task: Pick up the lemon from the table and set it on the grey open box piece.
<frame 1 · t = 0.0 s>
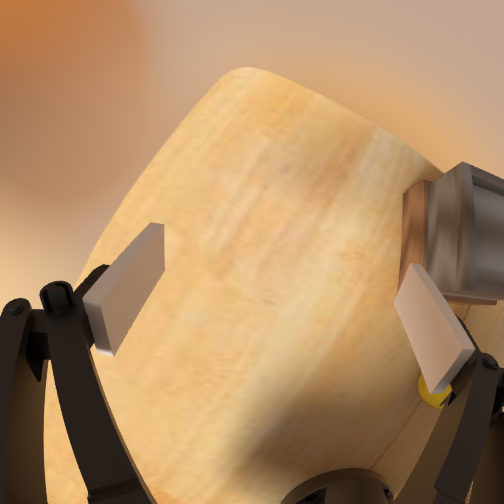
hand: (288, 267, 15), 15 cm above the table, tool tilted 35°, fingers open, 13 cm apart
lemon: (424, 375, 29), on the table
grey open box piece: (441, 251, 31), on the table
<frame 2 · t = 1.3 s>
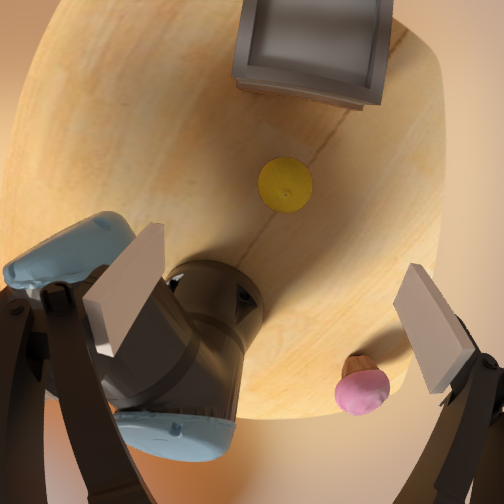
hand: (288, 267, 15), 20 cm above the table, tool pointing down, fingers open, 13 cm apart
lemon: (284, 175, 33), on the table
cupcake: (356, 360, 46), on the table
grey open box piece: (304, 48, 26), on the table
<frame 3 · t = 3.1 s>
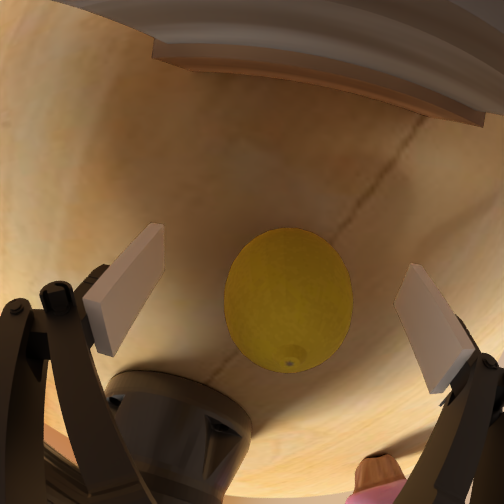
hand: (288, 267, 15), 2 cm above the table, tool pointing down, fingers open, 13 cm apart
lemon: (286, 250, 17), on the table
cupcake: (375, 457, 30), on the table
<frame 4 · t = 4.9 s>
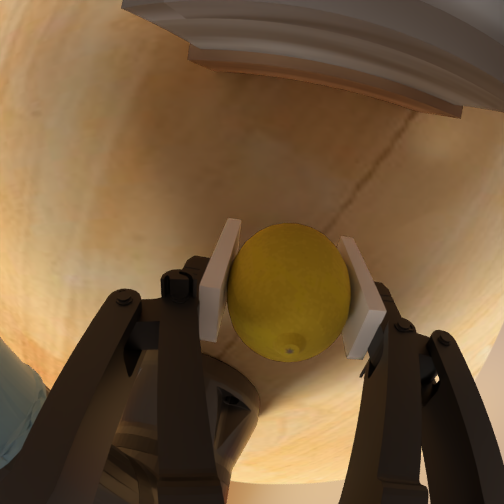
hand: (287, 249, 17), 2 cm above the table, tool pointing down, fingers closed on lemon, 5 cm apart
lemon: (287, 246, 17), point 2 cm above the table, touching gripper
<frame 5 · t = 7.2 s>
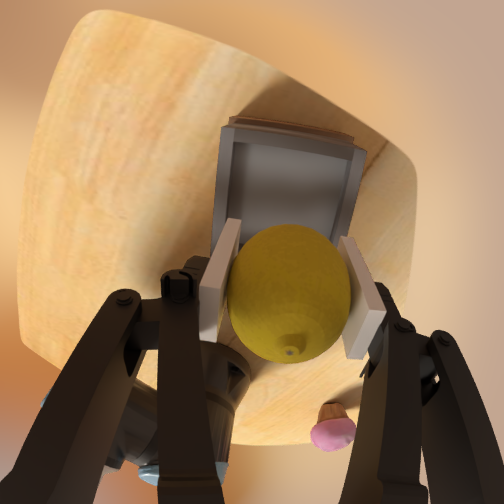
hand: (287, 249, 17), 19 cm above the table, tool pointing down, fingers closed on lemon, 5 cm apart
lemon: (287, 247, 17), point 18 cm above the table, touching gripper
cupcake: (331, 406, 53), on the table
grey open box piece: (282, 173, 33), on the table
when the fingers open (12 cm above the table, at t = 9.4 s): lemon drops 1 cm, resting on grey open box piece.
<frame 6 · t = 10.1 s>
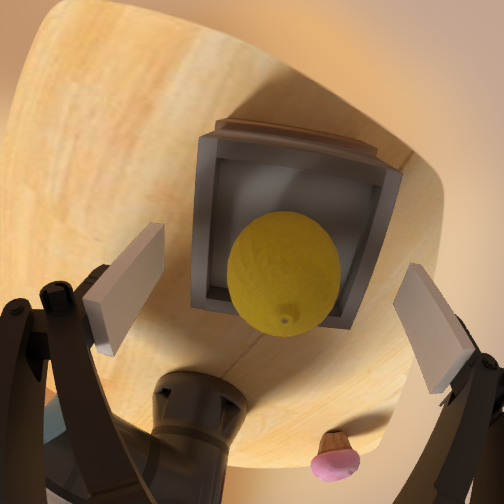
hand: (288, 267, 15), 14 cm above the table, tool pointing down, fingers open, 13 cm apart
lemon: (282, 236, 18), point 10 cm above the table, touching grey open box piece
cupcake: (333, 434, 47), on the table
grey open box piece: (284, 190, 27), on the table
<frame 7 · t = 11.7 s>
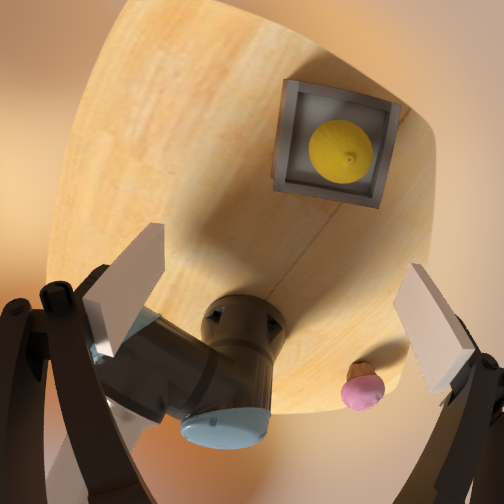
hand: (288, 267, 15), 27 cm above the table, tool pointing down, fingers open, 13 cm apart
lemon: (333, 143, 28), point 10 cm above the table, touching grey open box piece
cupcake: (358, 366, 57), on the table
grey open box piece: (323, 132, 36), on the table
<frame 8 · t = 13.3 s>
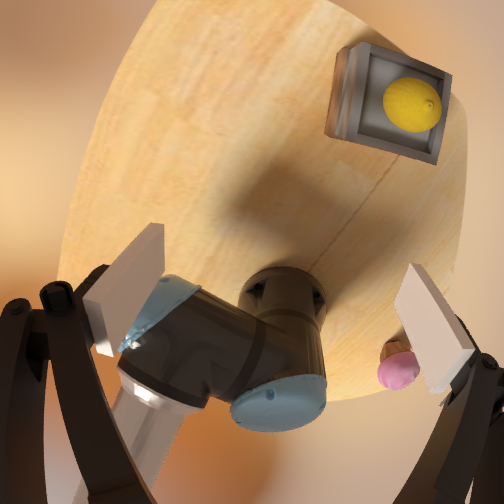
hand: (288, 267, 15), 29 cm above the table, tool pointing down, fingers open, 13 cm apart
lemon: (396, 103, 26), point 10 cm above the table, touching grey open box piece
cupcake: (391, 346, 55), on the table
grey open box piece: (372, 103, 35), on the table
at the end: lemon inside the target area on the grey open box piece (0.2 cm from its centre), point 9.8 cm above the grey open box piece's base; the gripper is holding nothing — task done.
